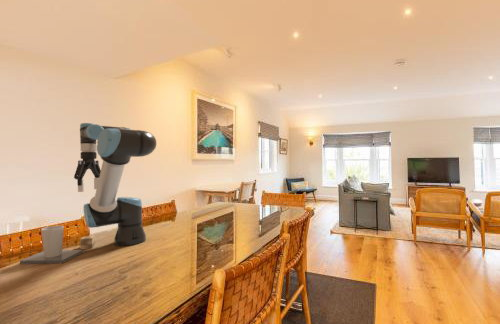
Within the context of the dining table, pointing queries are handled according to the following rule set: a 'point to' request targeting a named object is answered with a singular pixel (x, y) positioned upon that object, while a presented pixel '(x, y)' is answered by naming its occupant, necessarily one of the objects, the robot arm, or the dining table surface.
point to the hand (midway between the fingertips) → (89, 190)
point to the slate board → (57, 259)
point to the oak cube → (87, 242)
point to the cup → (52, 240)
